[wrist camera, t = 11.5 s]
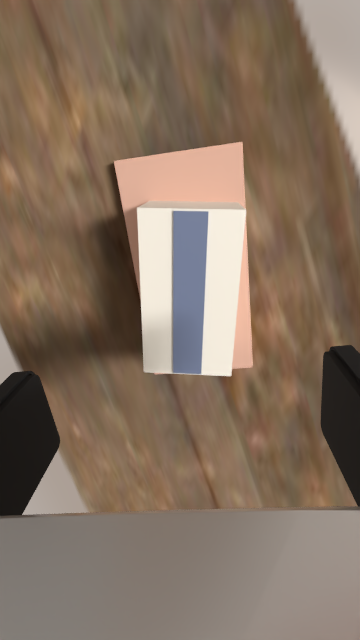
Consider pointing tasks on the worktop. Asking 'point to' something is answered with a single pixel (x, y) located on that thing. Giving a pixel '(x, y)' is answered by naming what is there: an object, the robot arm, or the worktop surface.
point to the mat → (190, 185)
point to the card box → (189, 284)
